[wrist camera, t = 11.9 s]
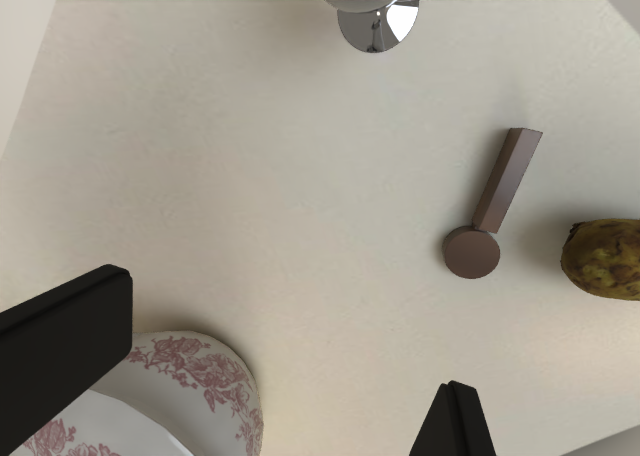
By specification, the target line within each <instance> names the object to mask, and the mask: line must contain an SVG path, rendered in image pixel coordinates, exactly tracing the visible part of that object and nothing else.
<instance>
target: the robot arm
mask: <svg viewBox="0 0 640 456" xmlns="http://www.w3.org/2000/svg"><path fill="white" fill-rule="evenodd" d="M132 307H133V280H132V277H131V276H130V273H129V271H128V270H126V269H123V268H120V267H117V266H115V265H112V264H106V265H103V266H101V267H99V268H97V269H94V270H92V271H90V272H88V273H86V274H84V275H81V276H79V277H77V278H75V279H73V280H71V281H68V282H66V283H64V284H62V285H60V286H58V287H55V288H53V289H51V290H49V291H47V292H45V293H42V294H40V295H38V296H36V297H34V298H32V299H29V300H27V301H25V302H23V303H21V304H19V305H16V306H14V307H12V308H10V309H8V310H6V311H3V312H1V313H0V456H9V455H10V454H11V453H12V452H14V451H15V450H16V449H17V448H18V447H20V446H21V445H22V444H23V443H24V442H26V441H27V440H28V439H29V438H30V437H31V436H33V435H34V434H35V433H36V432H37V431H39V430H40V429H41V428H42V427H43V426H45V425H46V424H47V423H48V422H49V421H51V420H52V419H53V418H54V417H55V416H57V415H58V414H59V413H60V412H61V411H63V410H64V409H65V408H66V407H67V406H69V405H70V404H71V403H72V402H73V401H74V400H76V399H77V398H78V397H79V396H80V395H82V394H83V393H84V392H85V391H86V390H88V389H89V388H90V387H91V386H92V385H94V384H95V383H96V382H97V381H98V380H100V379H101V378H102V377H103V376H104V375H106V374H107V373H108V372H109V371H110V370H111V369H113V368H114V367H115V366H116V365H117V364H119V363H120V362H121V361H122V360H123V359H125V358H126V357H127V356H128V354H129V353H130V351H131V349H132ZM409 456H496V453H495V450H494V447H493V443H492V440H491V437H490V433H489V430H488V427H487V423H486V420H485V417H484V413H483V410H482V407H481V403H480V400H479V397H478V393H477V391H476V389H475V388H474V387H471V386H468V385H465V384H462V383H459V382H456V381H453V380H451V381H450V382H449V383H448V385H447V384H444V383H442V384H441V385H440V387H439V389H438V391H437V394H436V396H435V398H434V400H433V402H432V405H431V407H430V409H429V411H428V414H427V416H426V418H425V420H424V422H423V425H422V427H421V429H420V431H419V433H418V436H417V438H416V440H415V442H414V444H413V447H412V449H411V451H410V454H409Z"/></svg>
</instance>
